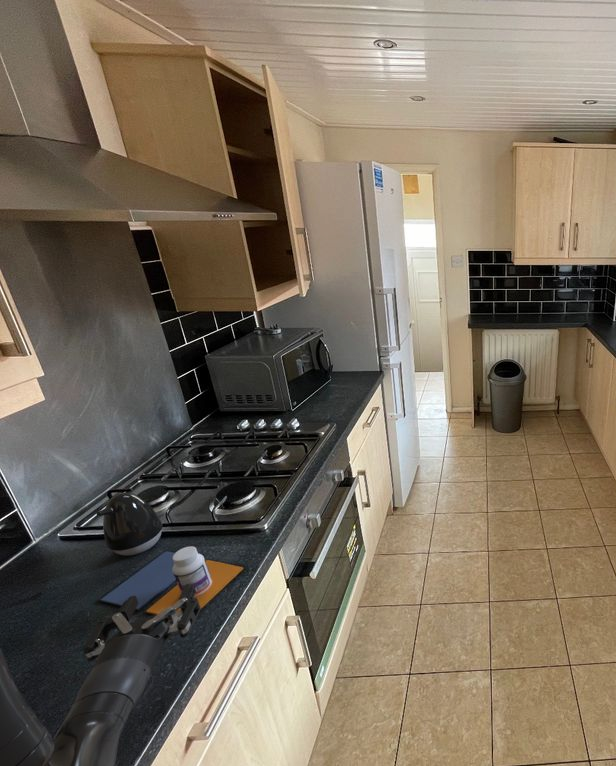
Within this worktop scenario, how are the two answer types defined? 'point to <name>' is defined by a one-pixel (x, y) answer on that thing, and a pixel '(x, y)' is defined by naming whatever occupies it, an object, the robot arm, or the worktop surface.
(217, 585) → the amber mat
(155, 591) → the slate mat
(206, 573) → the pill bottle
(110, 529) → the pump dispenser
